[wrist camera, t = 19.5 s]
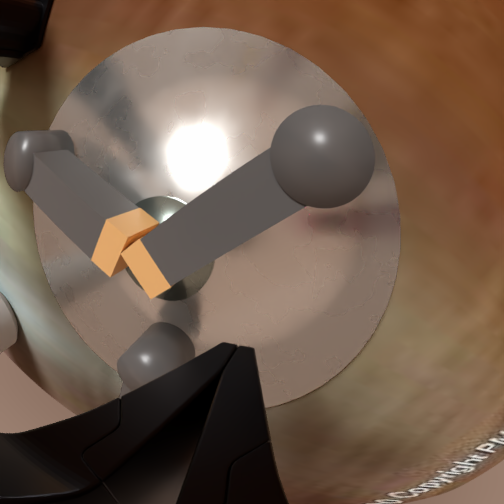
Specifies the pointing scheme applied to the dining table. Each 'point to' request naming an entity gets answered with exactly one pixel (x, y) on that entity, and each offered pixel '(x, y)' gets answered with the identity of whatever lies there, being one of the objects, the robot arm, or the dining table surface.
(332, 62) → the dining table surface
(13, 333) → the can
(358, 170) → the foot screw
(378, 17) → the dining table surface
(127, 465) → the robot arm
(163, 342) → the grey and orange bar
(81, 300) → the plate
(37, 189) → the foot screw
